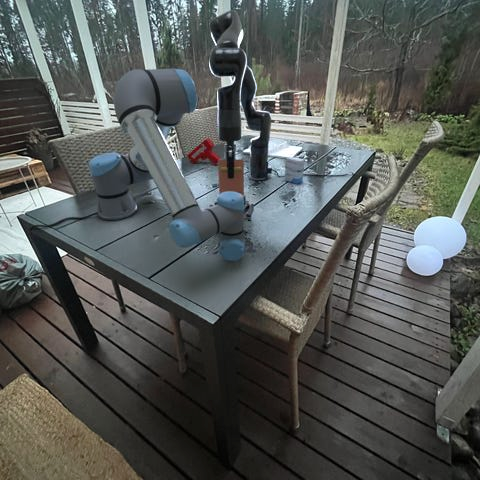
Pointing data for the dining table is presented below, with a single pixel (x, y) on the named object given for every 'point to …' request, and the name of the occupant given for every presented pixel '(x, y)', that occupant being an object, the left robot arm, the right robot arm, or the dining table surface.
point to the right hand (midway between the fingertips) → (230, 175)
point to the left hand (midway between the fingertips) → (231, 199)
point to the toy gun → (204, 152)
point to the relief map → (280, 150)
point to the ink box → (294, 170)
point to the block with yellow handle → (231, 184)
